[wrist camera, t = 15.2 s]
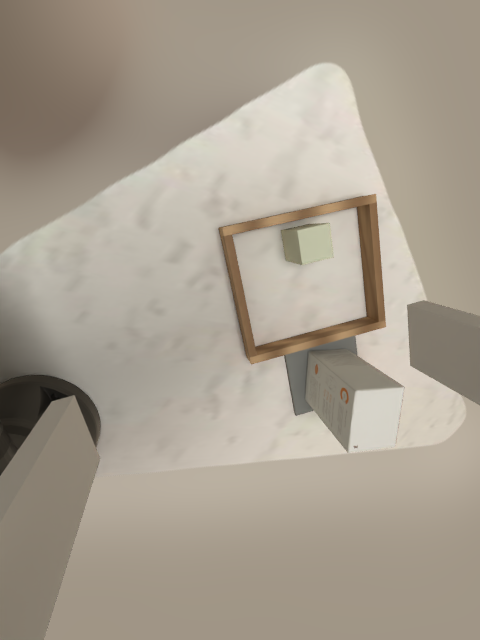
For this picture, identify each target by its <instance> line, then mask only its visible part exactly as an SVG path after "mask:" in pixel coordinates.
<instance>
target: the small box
mask: <svg viewBox="0 0 480 640" xmlns="http://www.w3.org/2000/svg"><path fill="white" fill-rule="evenodd" d="M404 388H405V387H404V386H402V385H401V384H399V383H398V382H396V381H395V380H393V379H392V378H390V377H389V376H387V375H386V374H384V373H382V372H381V371H380V370H378V369H376V368H375V367H373V366H372V365H370V364H369V363H367V362H366V361H364V360H363V359H361V358H360V357H358V356H357V355H355V354H354V353H352V352H351V351H349V350H348V349H337V350H320V351H309V352H308V365H307V378H306V393H305V400H306V401H307V402H308V404H309V405H310V406H311V407H312V409H313V410H314V411H315V412H316V414H317V415H318V416H319V417H320V419H321V420H322V421H323V422H324V424H325V425H326V426H327V427H328V429H329V430H330V431H331V432H332V434H333V435H334V436H335V437H336V439H337V440H338V441H339V442H340V444H341V445H342V446H343V447H344V449H345V450H346V451H347V452H348V453H354V452H363V451H371V450H378V449H385V448H392V447H395V446H396V439H397V433H398V426H399V420H400V413H401V407H402V401H403V394H404Z"/></svg>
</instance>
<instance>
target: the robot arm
mask: <svg viewBox="0 0 480 640" xmlns="http://www.w3.org/2000/svg"><path fill="white" fill-rule="evenodd" d="M407 310H408V329H409V348H410V366H412V367H414V368H415V369H417V370H419V371H421V372H422V373H424V374H426V375H428V376H429V377H431V378H433V379H435V380H436V381H438V382H440V383H442V384H443V385H445V386H447V387H449V388H450V389H452V390H454V391H456V392H457V393H459V394H461V395H463V396H465V397H466V398H468V399H470V400H472V401H473V402H475V403H477V404H479V405H480V316H477V315H474V314H471V313H467V312H464V311H460V310H456V309H453V308H449V307H446V306H442V305H438V304H435V303H431V302H428V301H420V302H416V303H412V304H409V305H407ZM99 436H100V418H99V414H98V411H97V409H96V407H95V405H94V404H93V402H92V401H91V399H90V398H89V397H88V396H87V395H86V394H85V393H84V392H83V391H82V390H80V389H79V388H77V387H76V386H74V385H73V384H71V383H69V382H66V381H64V380H61V379H58V378H54V377H50V376H41V375H31V376H22V377H18V378H14V379H11V380H8V381H6V382H4V383H2V384H0V640H44V637H45V634H46V631H47V628H48V625H49V622H50V618H51V615H52V612H53V609H54V605H55V602H56V599H57V595H58V593H59V589H60V586H61V583H62V580H63V576H64V573H65V570H66V567H67V563H68V560H69V557H70V554H71V550H72V547H73V544H74V541H75V537H76V534H77V531H78V528H79V524H80V522H81V518H82V515H83V512H84V509H85V505H86V502H87V499H88V496H89V492H90V489H91V485H92V483H93V480H94V476H95V473H96V470H97V467H98V463H99V460H100V457H99V455H98V452H97V450H96V445H97V442H98V439H99Z"/></svg>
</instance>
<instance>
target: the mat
mask: <svg viewBox="0 0 480 640" xmlns="http://www.w3.org/2000/svg"><path fill="white" fill-rule="evenodd" d="M337 349H348V350H349V351H351V352H352V353H354V354H355V355H357V348H356V338H355V336H351V337H348V338H344V339H341V340H337V341H333V342H330V343H326V344H323V345H319V346H315V347H312V348H308V349H305V350H301V351H297V352H294V353H290V354H287V355H284V356H285V362H286V367H287V373H288V378H289V384H290V390H291V395H292V401H293V406H294V412H295V415H296V416H297V415H300V414H304V413H307V412H310V411H313V409H312V407H311V406H310V405H309V404H308V402H307V401H306V400H305V393H306V378H307V365H308V352H309V351H320V350H337Z"/></svg>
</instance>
